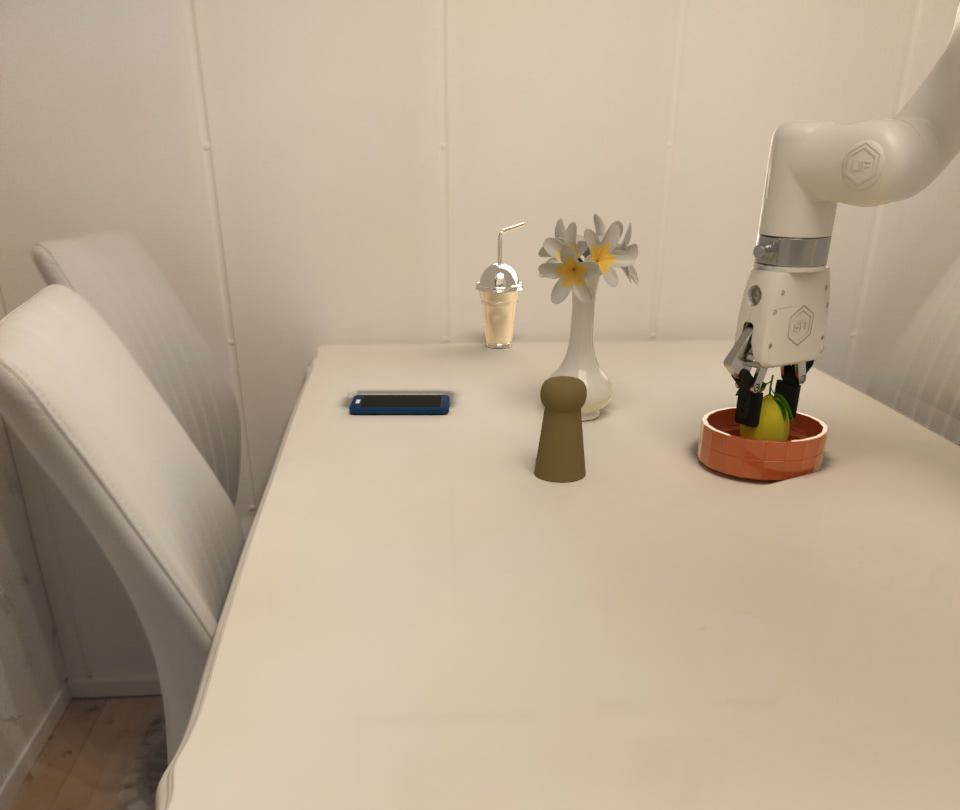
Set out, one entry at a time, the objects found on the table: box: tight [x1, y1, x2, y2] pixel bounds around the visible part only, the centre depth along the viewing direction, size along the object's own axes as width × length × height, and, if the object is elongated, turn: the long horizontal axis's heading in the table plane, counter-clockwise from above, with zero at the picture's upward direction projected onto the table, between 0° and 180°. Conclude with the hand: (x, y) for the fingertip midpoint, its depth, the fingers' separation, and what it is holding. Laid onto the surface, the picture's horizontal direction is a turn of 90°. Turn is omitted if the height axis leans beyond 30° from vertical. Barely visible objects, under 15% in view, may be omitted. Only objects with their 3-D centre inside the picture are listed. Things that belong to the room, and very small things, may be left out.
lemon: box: [734, 374, 794, 441], centre depth 107 cm, size 7×6×10 cm
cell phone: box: [348, 394, 451, 415], centre depth 130 cm, size 7×14×1 cm, turn 90°
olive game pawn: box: [533, 376, 587, 483], centre depth 104 cm, size 6×6×11 cm
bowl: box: [696, 406, 829, 482], centre depth 108 cm, size 14×14×5 cm
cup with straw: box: [474, 222, 526, 349], centre depth 160 cm, size 8×9×20 cm
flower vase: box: [538, 213, 639, 422], centre depth 120 cm, size 13×18×25 cm
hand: (765, 418), depth 107 cm, fingers closed on lemon, 5 cm apart
